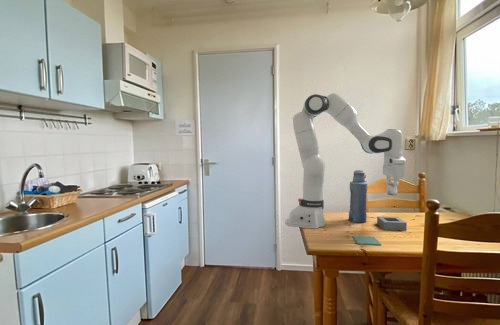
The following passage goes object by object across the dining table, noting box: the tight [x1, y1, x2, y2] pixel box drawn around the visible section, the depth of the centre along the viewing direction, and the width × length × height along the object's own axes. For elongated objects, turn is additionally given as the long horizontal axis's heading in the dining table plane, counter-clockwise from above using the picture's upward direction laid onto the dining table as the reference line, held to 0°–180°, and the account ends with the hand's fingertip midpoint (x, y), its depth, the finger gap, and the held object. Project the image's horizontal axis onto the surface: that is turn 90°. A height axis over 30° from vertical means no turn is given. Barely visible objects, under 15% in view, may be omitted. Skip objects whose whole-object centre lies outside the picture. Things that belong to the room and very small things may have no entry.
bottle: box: [348, 169, 368, 224], centre depth 158 cm, size 10×10×30 cm
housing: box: [376, 216, 408, 231], centre depth 147 cm, size 11×11×4 cm
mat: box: [352, 235, 382, 246], centre depth 126 cm, size 10×10×1 cm
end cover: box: [385, 180, 400, 196], centre depth 146 cm, size 6×6×7 cm
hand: (392, 185), depth 146 cm, fingers closed on end cover, 6 cm apart
